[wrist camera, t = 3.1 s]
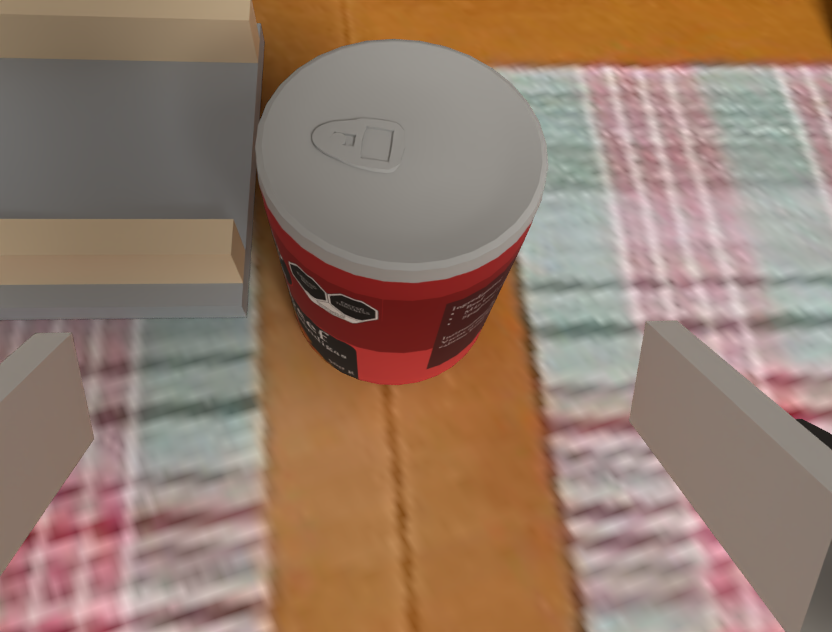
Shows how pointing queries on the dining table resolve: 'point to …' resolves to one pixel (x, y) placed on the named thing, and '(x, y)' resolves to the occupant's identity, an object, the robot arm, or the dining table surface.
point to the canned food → (397, 201)
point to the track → (127, 157)
